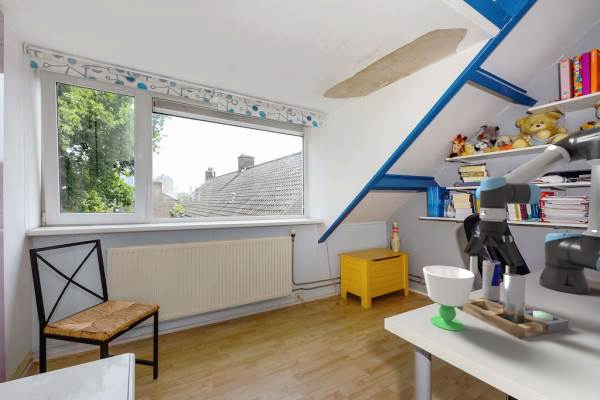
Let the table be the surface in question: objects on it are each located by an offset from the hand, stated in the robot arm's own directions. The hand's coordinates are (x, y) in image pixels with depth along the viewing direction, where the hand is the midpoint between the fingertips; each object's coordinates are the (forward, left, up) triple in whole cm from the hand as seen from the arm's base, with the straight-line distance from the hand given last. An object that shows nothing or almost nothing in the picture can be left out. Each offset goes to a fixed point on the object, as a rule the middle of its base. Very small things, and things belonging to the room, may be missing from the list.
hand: (490, 278), depth 96 cm
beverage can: (0, 0, -9) cm, 9 cm away
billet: (+10, +16, -9) cm, 20 cm away
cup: (+28, +9, -9) cm, 30 cm away
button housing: (+1, +17, -9) cm, 19 cm away
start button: (+1, +17, -8) cm, 19 cm away
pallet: (+10, +11, -9) cm, 17 cm away
